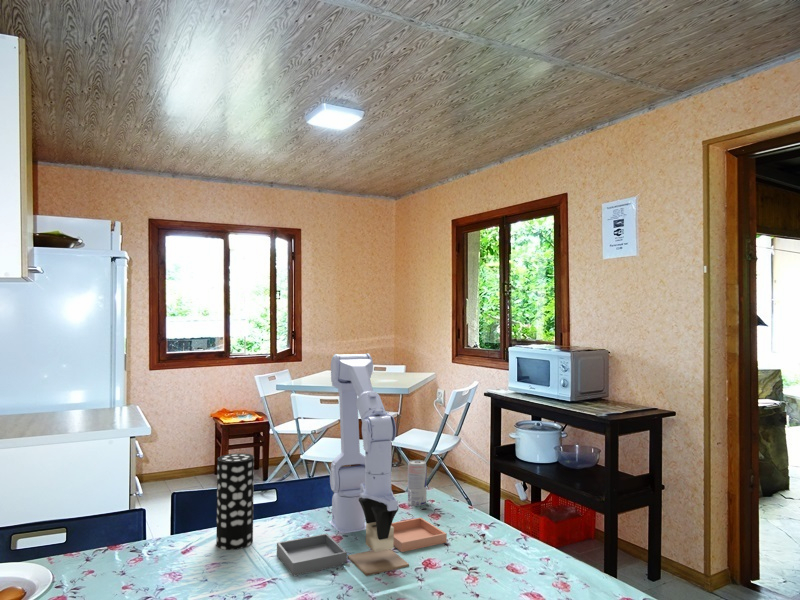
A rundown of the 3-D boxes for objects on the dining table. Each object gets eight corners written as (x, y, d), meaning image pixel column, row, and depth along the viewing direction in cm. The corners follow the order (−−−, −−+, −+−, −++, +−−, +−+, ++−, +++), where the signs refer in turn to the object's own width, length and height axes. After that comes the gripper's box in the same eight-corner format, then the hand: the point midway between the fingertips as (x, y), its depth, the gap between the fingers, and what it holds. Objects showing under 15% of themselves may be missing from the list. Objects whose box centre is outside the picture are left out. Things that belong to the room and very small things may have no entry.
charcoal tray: (276, 554, 128) (276, 542, 128) (326, 544, 134) (327, 533, 134) (292, 576, 117) (293, 563, 117) (346, 564, 123) (346, 552, 123)
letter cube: (365, 544, 124) (366, 523, 125) (384, 541, 126) (384, 520, 127) (374, 551, 120) (375, 529, 121) (393, 548, 123) (393, 526, 123)
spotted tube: (208, 546, 132) (209, 460, 133) (231, 533, 140) (232, 452, 140) (237, 552, 129) (239, 463, 130) (260, 539, 137) (261, 455, 137)
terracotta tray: (378, 536, 139) (378, 525, 139) (421, 527, 144) (421, 517, 145) (401, 554, 128) (401, 542, 128) (446, 544, 134) (446, 533, 134)
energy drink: (426, 501, 165) (427, 460, 165) (425, 507, 159) (426, 464, 160) (408, 501, 165) (408, 459, 166) (406, 507, 160) (407, 464, 160)
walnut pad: (347, 559, 125) (347, 555, 125) (387, 551, 130) (387, 546, 130) (366, 578, 116) (366, 573, 116) (408, 568, 121) (409, 563, 121)
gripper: (348, 465, 128) (347, 526, 128) (376, 482, 115) (375, 549, 115) (376, 462, 132) (376, 521, 131) (406, 477, 119) (406, 543, 118)
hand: (377, 534), depth 123 cm, fingers closed on letter cube, 4 cm apart
